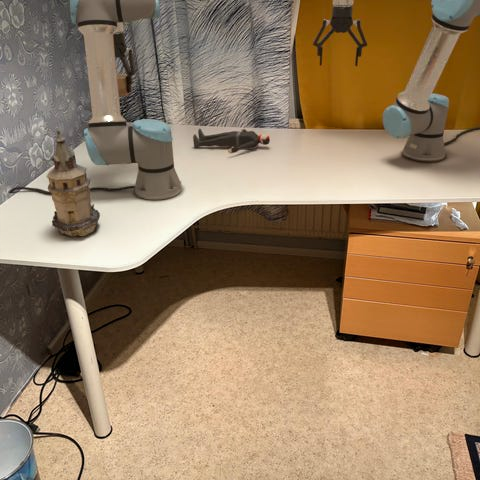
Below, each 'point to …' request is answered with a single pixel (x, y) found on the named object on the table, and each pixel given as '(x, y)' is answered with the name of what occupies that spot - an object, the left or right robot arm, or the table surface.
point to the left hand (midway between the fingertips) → (121, 91)
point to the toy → (231, 140)
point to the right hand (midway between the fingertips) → (338, 65)
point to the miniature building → (70, 193)
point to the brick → (122, 85)
